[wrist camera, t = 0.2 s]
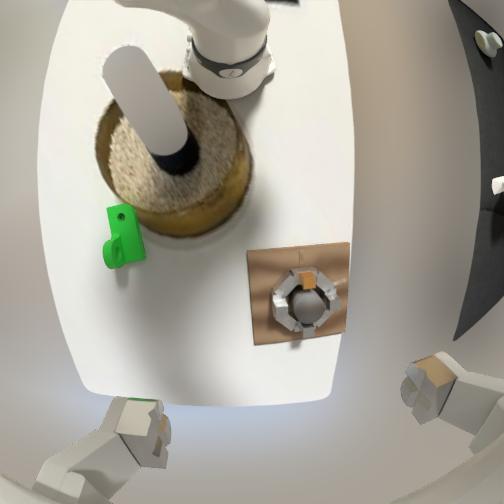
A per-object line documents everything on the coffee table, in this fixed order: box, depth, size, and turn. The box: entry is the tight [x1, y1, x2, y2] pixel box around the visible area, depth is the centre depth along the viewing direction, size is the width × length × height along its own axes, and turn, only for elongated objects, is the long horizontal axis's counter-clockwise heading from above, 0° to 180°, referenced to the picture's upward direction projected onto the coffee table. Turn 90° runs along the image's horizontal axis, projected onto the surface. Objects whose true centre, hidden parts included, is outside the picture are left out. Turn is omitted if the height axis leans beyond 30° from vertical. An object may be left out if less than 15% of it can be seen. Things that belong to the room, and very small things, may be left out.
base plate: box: [247, 242, 350, 345], centre depth 55 cm, size 22×22×8 cm
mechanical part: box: [103, 204, 146, 269], centre depth 49 cm, size 12×6×8 cm, turn 8°
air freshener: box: [475, 31, 502, 57], centre depth 39 cm, size 11×8×10 cm
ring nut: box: [271, 266, 341, 338], centre depth 55 cm, size 14×14×6 cm
